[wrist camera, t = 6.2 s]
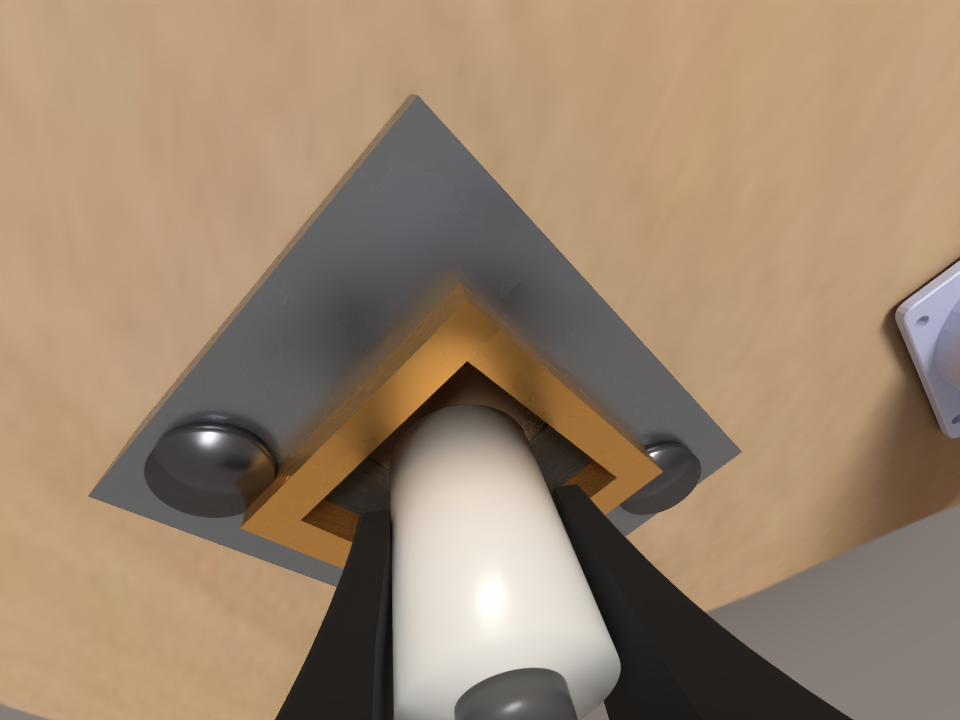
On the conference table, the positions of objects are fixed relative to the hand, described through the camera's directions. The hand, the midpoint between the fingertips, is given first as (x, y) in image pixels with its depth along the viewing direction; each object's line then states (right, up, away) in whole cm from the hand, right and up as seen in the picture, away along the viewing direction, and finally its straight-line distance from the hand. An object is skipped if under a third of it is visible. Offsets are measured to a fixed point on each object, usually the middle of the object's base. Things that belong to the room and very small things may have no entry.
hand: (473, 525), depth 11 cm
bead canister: (0, +1, +2) cm, 2 cm away
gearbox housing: (-1, +2, +4) cm, 4 cm away
